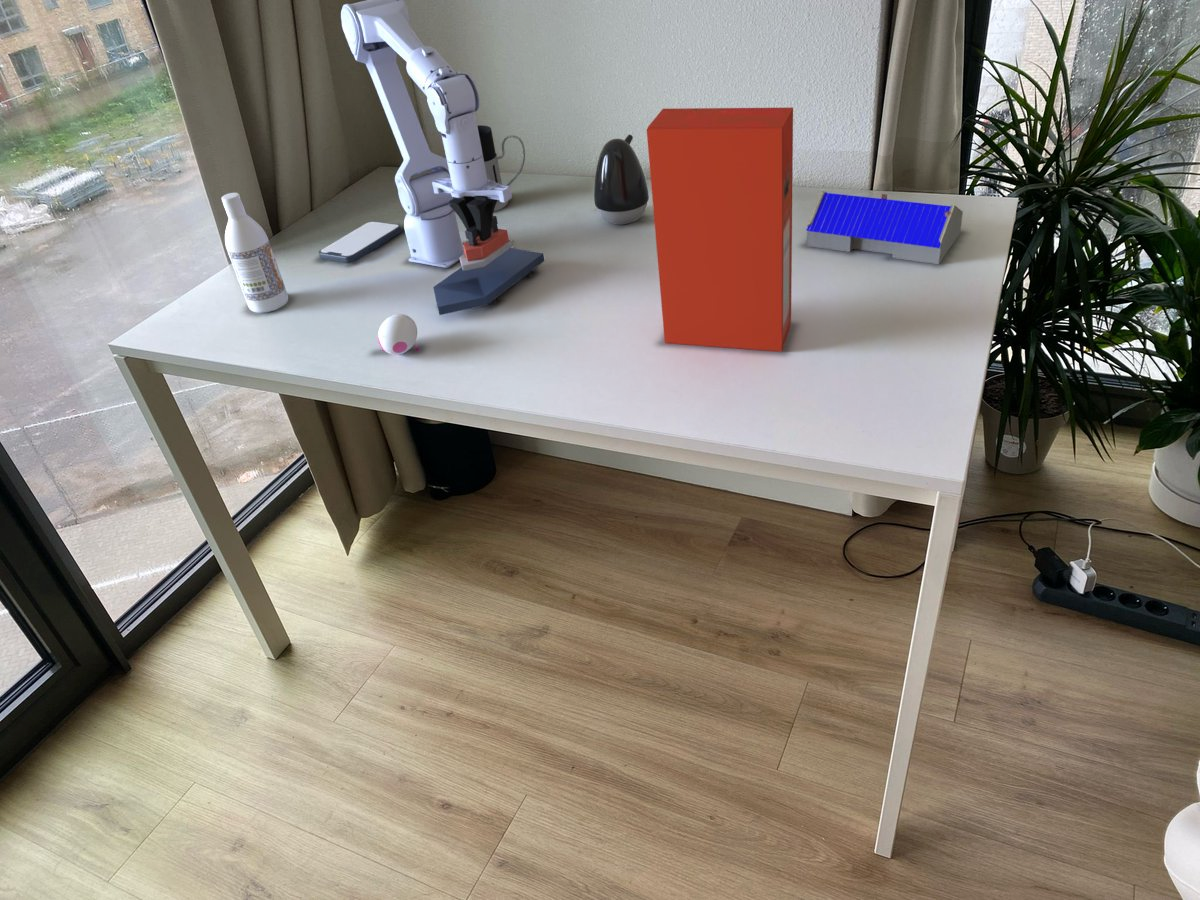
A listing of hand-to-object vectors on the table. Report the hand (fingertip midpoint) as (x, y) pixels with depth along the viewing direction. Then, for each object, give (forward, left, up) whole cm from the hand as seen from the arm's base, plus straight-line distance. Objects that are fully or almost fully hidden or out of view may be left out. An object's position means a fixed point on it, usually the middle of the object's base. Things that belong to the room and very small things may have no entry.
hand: (481, 237), depth 154 cm
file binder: (+45, -1, -9) cm, 46 cm away
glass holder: (-21, +31, -9) cm, 39 cm away
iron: (0, 0, -3) cm, 3 cm away
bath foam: (-35, -19, -9) cm, 41 cm away
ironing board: (0, -2, -9) cm, 9 cm away
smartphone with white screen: (-36, +6, -9) cm, 38 cm away
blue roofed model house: (+56, +37, -9) cm, 68 cm away
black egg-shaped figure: (+8, +32, -9) cm, 34 cm away
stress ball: (-1, -23, -9) cm, 25 cm away
